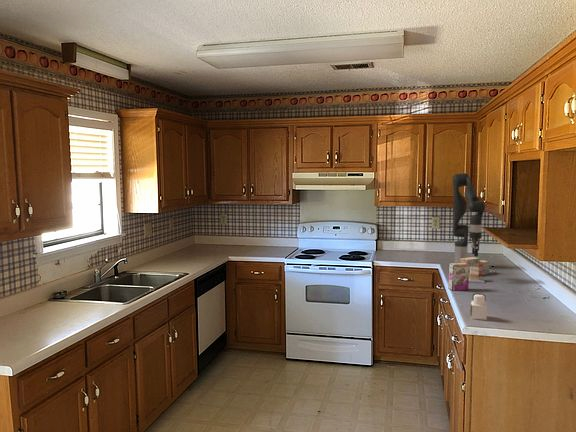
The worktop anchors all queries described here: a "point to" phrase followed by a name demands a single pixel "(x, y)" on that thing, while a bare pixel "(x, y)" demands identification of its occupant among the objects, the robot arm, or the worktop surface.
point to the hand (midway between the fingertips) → (474, 255)
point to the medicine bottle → (478, 307)
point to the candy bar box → (458, 276)
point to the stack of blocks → (477, 264)
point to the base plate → (477, 281)
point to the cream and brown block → (474, 273)
